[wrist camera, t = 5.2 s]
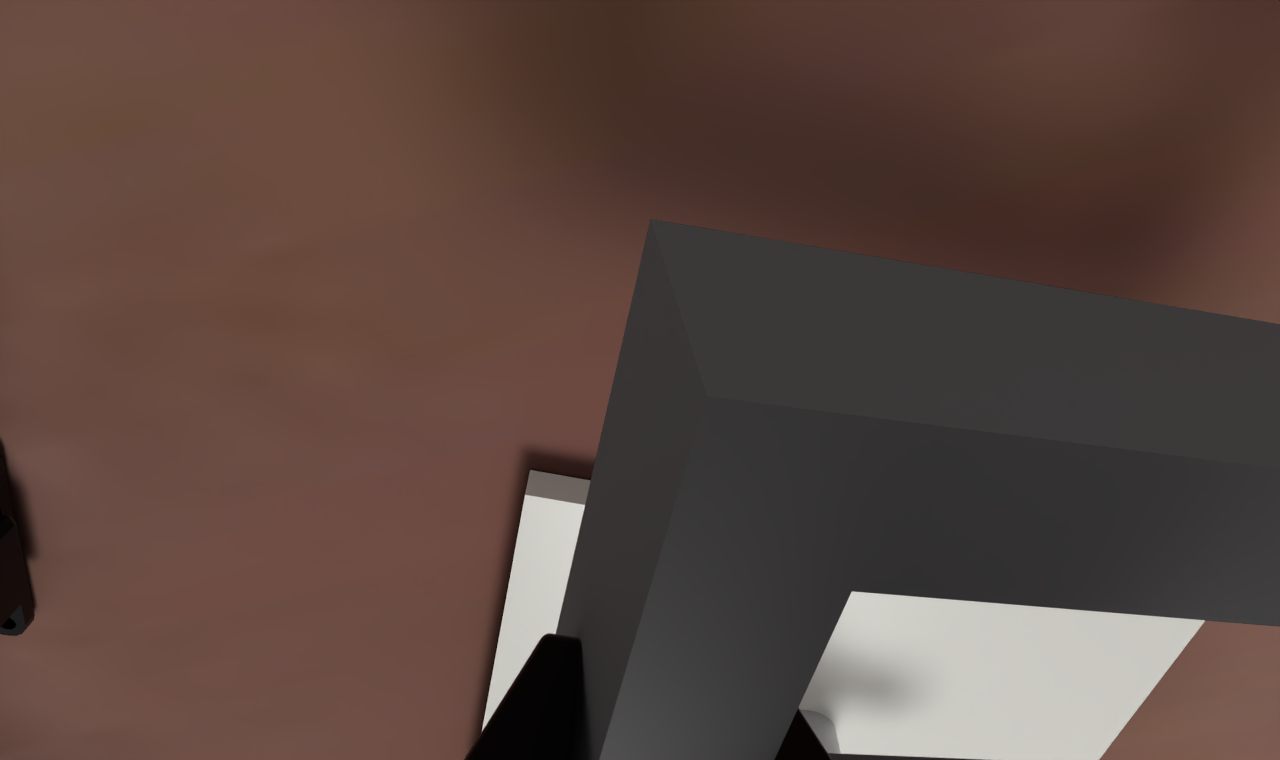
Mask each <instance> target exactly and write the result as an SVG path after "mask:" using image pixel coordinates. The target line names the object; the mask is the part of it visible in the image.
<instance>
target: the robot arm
mask: <svg viewBox="0 0 1280 760" xmlns="http://www.w3.org/2000/svg"><path fill="white" fill-rule="evenodd" d="M33 620H34V610H33V605H32V600H31V595H30V588H29V583H28V578H27V573H26V568H25V563H24V558H23V553H22V548H21V543H20V538H19V533H18V528H17V525H16V521H15V516H14V511H13V506H12V502H11V497H10V492H9V487H8V482H7V477H6V472H5V467H4V462H3V457H2V455H1V452H0V634H3V635H11V636H16V635H19V634H22V633H23V632H24V631H25V630H26V628H27V627H28V626H29V625H30V624H31V622H32V621H33ZM581 667H582V646H581V641H580V639H579V638H577V637H571V636H565V635H558V634H552V633H547V634H545V635H544V636H543V637H542V638H541V639H540V640H539V642H538V644H537V645H536V647H535V648H534V650H533V651H532V653H531V655H530V656H529V658H528V659H527V661H526V663H525V664H524V666H523V667H522V669H521V670H520V672H519V674H518V675H517V677H516V678H515V680H514V682H513V683H512V685H511V686H510V688H509V689H508V691H507V693H506V694H505V696H504V697H503V699H502V701H501V702H500V704H499V705H498V707H497V708H496V710H495V712H494V713H493V715H492V716H491V718H490V720H489V721H488V723H487V724H486V726H485V727H484V729H483V731H482V732H481V734H480V735H479V737H478V739H477V740H476V742H475V743H474V745H473V746H472V748H471V750H470V751H469V753H468V754H467V756H466V758H465V759H464V760H574V756H575V750H576V745H577V735H578V723H579V704H580V686H581ZM775 760H832V759H831V757H830V756H829V754H828V752H827V751H826V749H825V748H824V746H823V745H822V743H821V742H820V740H819V739H818V737H817V736H816V734H815V732H814V731H813V729H812V728H811V726H810V725H809V723H808V722H807V720H806V719H805V717H804V716H803V714H802V712H801V711H800V709H799V708H798V710H797V712H796V714H795V716H794V718H793V720H792V723H791V725H790V727H789V729H788V731H787V733H786V736H785V738H784V740H783V742H782V744H781V746H780V749H779V751H778V753H777V755H776V757H775Z"/></svg>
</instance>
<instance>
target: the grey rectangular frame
mask: <svg viewBox="0 0 1280 760" xmlns="http://www.w3.org/2000/svg"><path fill="white" fill-rule="evenodd" d="M851 592H865V593H877V594H889V595H901V596H913V597H926V598H938V599H950V600H962V601H975V602H987V603H999V604H1011V605H1023V606H1036V607H1048V608H1060V609H1072V610H1084V611H1097V612H1109V613H1121V614H1133V615H1145V616H1158V617H1170V618H1182V619H1194V620H1206V621H1219V622H1231V623H1243V624H1255V625H1267V626H1280V324H1275V323H1269V322H1263V321H1257V320H1251V319H1245V318H1239V317H1233V316H1227V315H1221V314H1215V313H1209V312H1203V311H1197V310H1191V309H1185V308H1179V307H1173V306H1167V305H1161V304H1155V303H1149V302H1143V301H1137V300H1131V299H1125V298H1119V297H1113V296H1107V295H1101V294H1095V293H1089V292H1083V291H1077V290H1071V289H1065V288H1059V287H1053V286H1047V285H1041V284H1035V283H1029V282H1023V281H1017V280H1011V279H1005V278H999V277H993V276H987V275H981V274H975V273H969V272H963V271H958V270H952V269H946V268H940V267H934V266H928V265H922V264H916V263H910V262H904V261H898V260H892V259H886V258H880V257H874V256H868V255H862V254H856V253H850V252H844V251H838V250H832V249H826V248H820V247H814V246H808V245H802V244H796V243H790V242H784V241H778V240H772V239H766V238H760V237H754V236H748V235H742V234H736V233H730V232H724V231H718V230H712V229H706V228H700V227H694V226H688V225H682V224H676V223H670V222H664V221H658V220H652V219H650V224H649V228H648V232H647V237H646V241H645V245H644V250H643V254H642V259H641V263H640V267H639V272H638V276H637V280H636V285H635V289H634V293H633V298H632V302H631V307H630V311H629V315H628V320H627V324H626V328H625V333H624V337H623V342H622V346H621V350H620V355H619V359H618V363H617V368H616V372H615V377H614V381H613V385H612V390H611V394H610V398H609V403H608V407H607V411H606V416H605V420H604V425H603V429H602V433H601V438H600V442H599V446H598V451H597V455H596V460H595V464H594V468H593V473H592V477H591V481H590V486H589V490H588V495H587V499H586V503H585V508H584V512H583V516H582V521H581V525H580V529H579V534H578V538H577V543H576V547H575V551H574V556H573V560H572V564H571V569H570V573H569V578H568V582H567V586H566V591H565V595H564V599H563V604H562V608H561V613H560V617H559V621H558V626H557V630H556V634H558V635H565V636H571V637H577V638H579V639H580V641H581V646H582V667H581V686H580V704H579V723H578V735H577V745H576V750H575V756H574V760H775V757H776V755H777V753H778V751H779V749H780V746H781V744H782V742H783V740H784V738H785V736H786V733H787V731H788V729H789V727H790V725H791V723H792V720H793V718H794V716H795V714H796V712H797V710H798V707H799V705H800V703H801V701H802V699H803V697H804V694H805V692H806V690H807V688H808V686H809V683H810V681H811V679H812V677H813V675H814V673H815V670H816V668H817V666H818V664H819V662H820V660H821V657H822V655H823V653H824V651H825V649H826V647H827V644H828V642H829V640H830V638H831V636H832V634H833V631H834V629H835V627H836V625H837V623H838V620H839V618H840V616H841V614H842V612H843V610H844V607H845V605H846V603H847V601H848V599H849V597H850V594H851ZM828 754H829V756H830V757H831V759H832V760H985V759H961V758H936V757H912V756H888V755H863V754H839V753H828Z"/></svg>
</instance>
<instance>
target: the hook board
mask: <svg viewBox="0 0 1280 760" xmlns="http://www.w3.org/2000/svg"><path fill="white" fill-rule="evenodd" d="M590 481H591V480H585V479H579V478H574V477H568V476H562V475H557V474H551V473H545V472H540V471H534V470H530V473H529V478H528V483H527V488H526V493H525V498H524V503H523V509H522V514H521V520H520V525H519V531H518V536H517V542H516V547H515V553H514V558H513V563H512V569H511V574H510V580H509V585H508V591H507V596H506V602H505V607H504V613H503V618H502V624H501V629H500V635H499V640H498V645H497V651H496V656H495V662H494V667H493V673H492V678H491V684H490V689H489V695H488V700H487V706H486V711H485V717H484V722H483V727H482V731H483V729H484V727H485V726H486V724H487V723H488V721H489V720H490V718H491V716H492V715H493V713H494V712H495V710H496V708H497V707H498V705H499V704H500V702H501V701H502V699H503V697H504V696H505V694H506V693H507V691H508V689H509V688H510V686H511V685H512V683H513V682H514V680H515V678H516V677H517V675H518V674H519V672H520V670H521V669H522V667H523V666H524V664H525V663H526V661H527V659H528V658H529V656H530V655H531V653H532V651H533V650H534V648H535V647H536V645H537V644H538V642H539V640H540V639H541V638H542V637H543V636H544V635H545V634H547V633H552V634H556V630H557V626H558V621H559V617H560V613H561V608H562V604H563V599H564V595H565V591H566V586H567V582H568V578H569V573H570V569H571V564H572V560H573V556H574V551H575V547H576V543H577V538H578V534H579V529H580V525H581V521H582V516H583V512H584V508H585V503H586V499H587V495H588V490H589V486H590ZM1204 621H1205V620H1194V619H1182V618H1170V617H1158V616H1145V615H1133V614H1121V613H1109V612H1097V611H1084V610H1072V609H1060V608H1048V607H1036V606H1023V605H1011V604H999V603H987V602H975V601H962V600H950V599H938V598H926V597H913V596H901V595H889V594H877V593H865V592H851V594H850V597H849V599H848V601H847V603H846V605H845V607H844V610H843V612H842V614H841V616H840V618H839V620H838V623H837V625H836V627H835V629H834V631H833V634H832V636H831V638H830V640H829V642H828V644H827V647H826V649H825V651H824V653H823V655H822V657H821V660H820V662H819V664H818V666H817V668H816V670H815V673H814V675H813V677H812V679H811V681H810V683H809V686H808V688H807V690H806V692H805V694H804V697H803V699H802V701H801V703H800V705H799V707H798V708H799V709H800V711H801V712H802V714H803V716H804V717H805V719H806V720H807V722H808V723H809V725H810V726H811V728H812V729H813V731H814V732H815V734H816V736H817V737H818V739H819V740H820V742H821V743H822V745H823V746H824V748H825V749H826V751H827V752H828V753H839V754H863V755H888V756H912V757H936V758H961V759H985V760H1099V759H1100V758H1101V756H1102V755H1103V754H1104V752H1105V751H1106V750H1107V748H1108V747H1109V746H1110V744H1111V743H1112V742H1113V741H1114V739H1115V738H1116V737H1117V735H1118V734H1119V733H1120V731H1121V730H1122V729H1123V727H1124V726H1125V725H1126V724H1127V722H1128V721H1129V720H1130V718H1131V717H1132V716H1133V714H1134V713H1135V712H1136V710H1137V709H1138V708H1139V707H1140V705H1141V704H1142V703H1143V701H1144V700H1145V699H1146V697H1147V696H1148V695H1149V693H1150V692H1151V691H1152V690H1153V688H1154V687H1155V686H1156V684H1157V683H1158V682H1159V680H1160V679H1161V678H1162V676H1163V675H1164V674H1165V673H1166V671H1167V670H1168V669H1169V667H1170V666H1171V665H1172V663H1173V662H1174V661H1175V659H1176V658H1177V657H1178V656H1179V654H1180V653H1181V652H1182V650H1183V649H1184V648H1185V646H1186V645H1187V644H1188V642H1189V641H1190V640H1191V638H1192V637H1193V636H1194V635H1195V633H1196V632H1197V631H1198V629H1199V628H1200V627H1201V625H1202V624H1203V623H1204Z"/></svg>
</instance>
